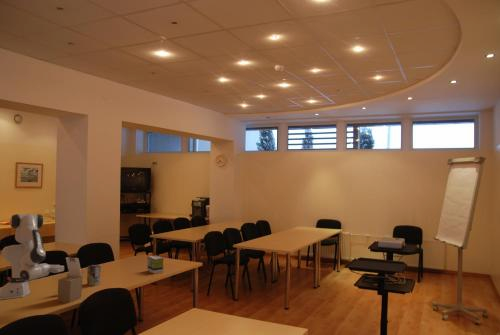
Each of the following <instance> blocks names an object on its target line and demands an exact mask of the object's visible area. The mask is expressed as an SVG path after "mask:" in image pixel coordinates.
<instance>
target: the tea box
mask: <svg viewBox="0 0 500 335" xmlns="http://www.w3.org/2000/svg"><path fill="white" fill-rule="evenodd" d="M146 267H147V270H146V271H147V272H149V273H151V274H153V273H154V274H153V275H156V274H155V273H157V274H162V273H164V258H163V257H162V256H158V255H152V256H147V266H146Z"/></svg>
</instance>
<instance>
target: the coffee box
mask: <svg viewBox="0 0 500 335" xmlns="http://www.w3.org/2000/svg"><path fill="white" fill-rule="evenodd" d="M86 272H87V273H86V274H87V277H86V282H87V283H86V285H87V286H94V287H96V286H99V285H100V284H101V265H97V264H91V265H87V271H86Z"/></svg>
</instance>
